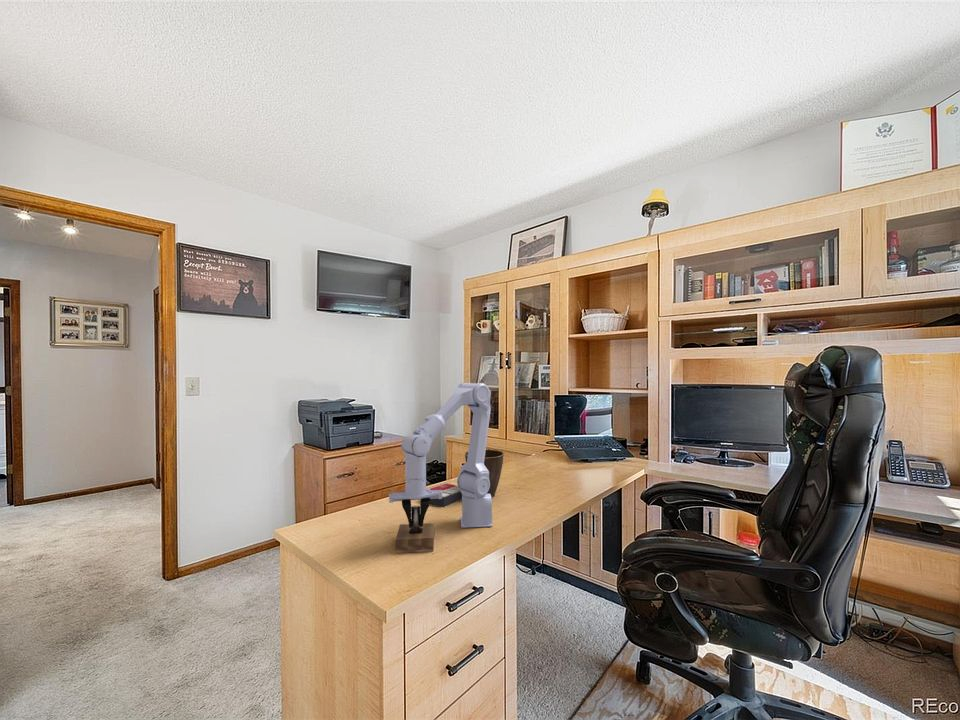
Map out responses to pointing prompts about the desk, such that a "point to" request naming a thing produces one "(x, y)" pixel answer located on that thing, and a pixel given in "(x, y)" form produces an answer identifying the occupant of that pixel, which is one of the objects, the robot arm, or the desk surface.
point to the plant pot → (492, 468)
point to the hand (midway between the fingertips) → (415, 525)
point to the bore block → (415, 539)
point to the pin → (415, 519)
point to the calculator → (447, 495)
